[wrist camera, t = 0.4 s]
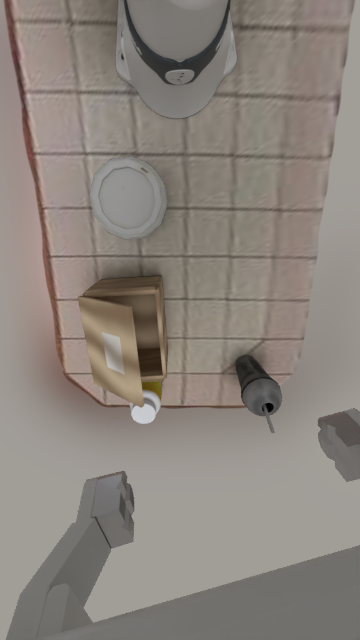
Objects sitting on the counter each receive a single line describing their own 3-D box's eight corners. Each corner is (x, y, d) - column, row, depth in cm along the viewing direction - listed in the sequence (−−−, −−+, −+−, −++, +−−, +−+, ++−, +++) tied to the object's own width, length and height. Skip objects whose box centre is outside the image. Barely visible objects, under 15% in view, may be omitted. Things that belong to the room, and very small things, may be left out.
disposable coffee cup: (147, 247, 53) (137, 257, 39) (98, 211, 51) (69, 207, 37) (180, 199, 50) (183, 191, 36) (130, 158, 48) (113, 132, 34)
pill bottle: (136, 368, 62) (128, 398, 51) (164, 372, 62) (162, 402, 52) (133, 391, 64) (125, 425, 53) (160, 395, 64) (157, 429, 54)
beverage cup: (268, 357, 61) (310, 418, 43) (250, 383, 64) (283, 451, 45) (240, 344, 60) (271, 399, 41) (223, 370, 62) (244, 435, 43)
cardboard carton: (100, 276, 55) (81, 291, 43) (161, 272, 55) (158, 286, 43) (112, 354, 60) (99, 385, 49) (168, 350, 60) (166, 380, 49)
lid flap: (81, 295, 44) (77, 296, 43) (131, 305, 36) (127, 307, 36) (97, 381, 49) (93, 383, 48) (144, 405, 42) (140, 408, 41)
